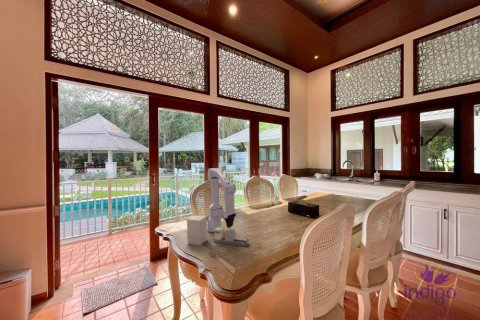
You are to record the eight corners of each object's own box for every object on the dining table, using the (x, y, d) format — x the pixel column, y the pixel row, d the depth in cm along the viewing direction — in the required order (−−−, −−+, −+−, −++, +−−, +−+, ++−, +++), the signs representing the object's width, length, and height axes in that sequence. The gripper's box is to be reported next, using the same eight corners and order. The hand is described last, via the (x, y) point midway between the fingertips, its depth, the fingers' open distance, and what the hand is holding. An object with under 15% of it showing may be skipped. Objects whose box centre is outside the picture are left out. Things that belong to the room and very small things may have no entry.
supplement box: (207, 239, 130) (207, 216, 130) (200, 245, 122) (199, 220, 122) (194, 238, 133) (194, 215, 133) (187, 243, 125) (186, 219, 125)
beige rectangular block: (214, 239, 126) (214, 229, 126) (217, 236, 130) (217, 227, 130) (220, 240, 125) (220, 230, 125) (223, 237, 129) (222, 227, 129)
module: (225, 240, 124) (225, 230, 124) (227, 237, 128) (227, 228, 128) (233, 241, 122) (232, 231, 122) (235, 238, 126) (235, 229, 126)
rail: (213, 242, 126) (213, 237, 126) (216, 239, 130) (216, 234, 130) (246, 246, 120) (246, 241, 120) (248, 243, 124) (248, 238, 124)
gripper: (231, 207, 117) (231, 231, 117) (239, 202, 130) (240, 223, 131) (220, 206, 119) (220, 230, 119) (229, 201, 133) (229, 222, 133)
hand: (229, 226), depth 125 cm, fingers open, 3 cm apart
